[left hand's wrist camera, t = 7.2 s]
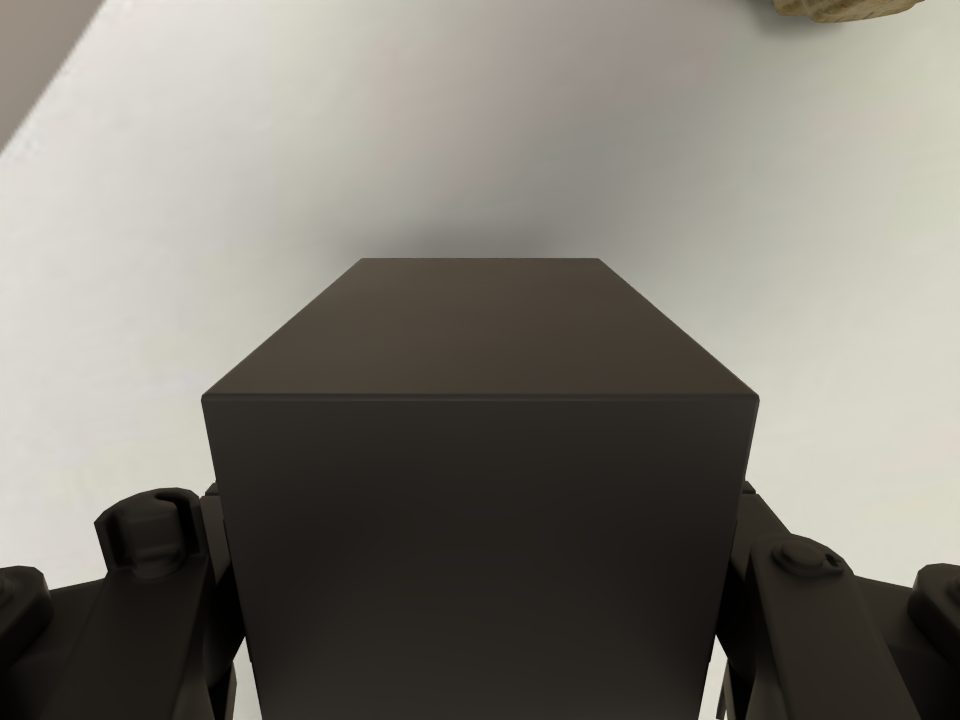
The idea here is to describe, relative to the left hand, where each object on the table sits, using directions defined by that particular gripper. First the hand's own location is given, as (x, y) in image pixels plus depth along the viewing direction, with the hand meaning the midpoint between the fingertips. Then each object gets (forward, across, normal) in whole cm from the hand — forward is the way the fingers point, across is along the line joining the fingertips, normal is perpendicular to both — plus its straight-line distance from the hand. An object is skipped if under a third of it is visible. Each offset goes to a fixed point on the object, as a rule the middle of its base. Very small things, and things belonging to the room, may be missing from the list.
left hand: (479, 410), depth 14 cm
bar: (0, 0, -10) cm, 10 cm away
